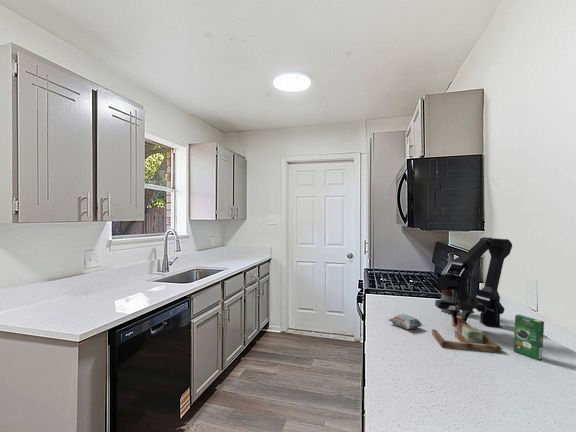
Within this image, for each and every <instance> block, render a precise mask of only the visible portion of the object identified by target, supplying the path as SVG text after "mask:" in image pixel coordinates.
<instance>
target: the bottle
mask: <svg viewBox="0 0 576 432" xmlns="http://www.w3.org/2000/svg"><path fill="white" fill-rule="evenodd" d="M454 259H455V253H453V252H449V253H448V261H447V265H446V266H445V267H444V268H443V270H442V272H441V274H445V273H446V271H447V270H448V268H449V266H450V265H451V262H452V261H453V260H454ZM455 273H456V272H455ZM452 299H453V292H452V290H441V295H440V300H446V301H447V302H450V303H453V302H452ZM456 310H457V314H458V315H460V311H461V310H460V309H459V308H458V307H456ZM440 312H442V313H443V312H444V314H446V313H448V314H447V315H451V313H450V311H449V310H448V309H440Z"/></svg>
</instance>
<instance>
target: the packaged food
mask: <svg viewBox="0 0 576 432" xmlns="http://www.w3.org/2000/svg"><path fill="white" fill-rule="evenodd" d="M387 321H389V322H391V323H392V324H393V325H395V326H398V327H400V328H403V329H405V330H412V329H413V330H414V329H418V328H420V327H423V324H422V322H421V321H420V320H419V319H418V318H415V317H413V316H411V315H408V314H404V313H400V314H396V315H394V316H393V317H390V318H388V319H387Z"/></svg>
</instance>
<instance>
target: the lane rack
mask: <svg viewBox="0 0 576 432" xmlns="http://www.w3.org/2000/svg"><path fill="white" fill-rule="evenodd" d="M431 335H432V336H433V338H434V339H435V340H436V342H437V343H438V344H439V346H440V347H441V348H446V347H447V348H449V349H456V348H459V349H458V350H466V349H467V350H466V351H477V350H478V351H479V352H489V353H499V354H501V353H502V346H501V345H499V344H498V343H497V342H496V341H495V340H493V339H491V337H489V336H488V335H487V334H485V333H483V337H482V342H484V343H474V342H469V341H468V340H467V339H466V338H465V337H464V336H463V335H462V333H461V332H460V331H456V330H455V331H454V337H455V338H456V340H457V341H454V340H445V339H444V337H443V336H442V335H441V334H440V333H439V331H438V330H437V329H431ZM458 340H459V341H460V342H459V341H458Z"/></svg>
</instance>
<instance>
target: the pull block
mask: <svg viewBox="0 0 576 432" xmlns="http://www.w3.org/2000/svg"><path fill="white" fill-rule="evenodd" d="M451 326H452V327H453V328H456V329H457V330H458V332H460V333H461V334H462V335H463V336H464V337H465V338H466V339H467V340H468V341H469V342H470V343H474V342H476V343H478V344H483V340H482V337H483V334H484V333H483V331H482V330H480V329H479V328H478V327H475V326H472V325H471V324H469V323H468V322H467V321H464V320H463V319H462V316H457V326H456V325H455V323H454V321H453V318H452V317H451Z"/></svg>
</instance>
